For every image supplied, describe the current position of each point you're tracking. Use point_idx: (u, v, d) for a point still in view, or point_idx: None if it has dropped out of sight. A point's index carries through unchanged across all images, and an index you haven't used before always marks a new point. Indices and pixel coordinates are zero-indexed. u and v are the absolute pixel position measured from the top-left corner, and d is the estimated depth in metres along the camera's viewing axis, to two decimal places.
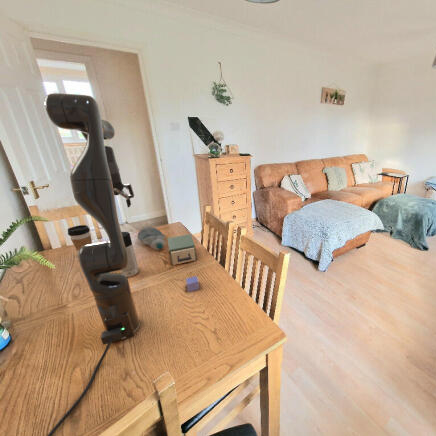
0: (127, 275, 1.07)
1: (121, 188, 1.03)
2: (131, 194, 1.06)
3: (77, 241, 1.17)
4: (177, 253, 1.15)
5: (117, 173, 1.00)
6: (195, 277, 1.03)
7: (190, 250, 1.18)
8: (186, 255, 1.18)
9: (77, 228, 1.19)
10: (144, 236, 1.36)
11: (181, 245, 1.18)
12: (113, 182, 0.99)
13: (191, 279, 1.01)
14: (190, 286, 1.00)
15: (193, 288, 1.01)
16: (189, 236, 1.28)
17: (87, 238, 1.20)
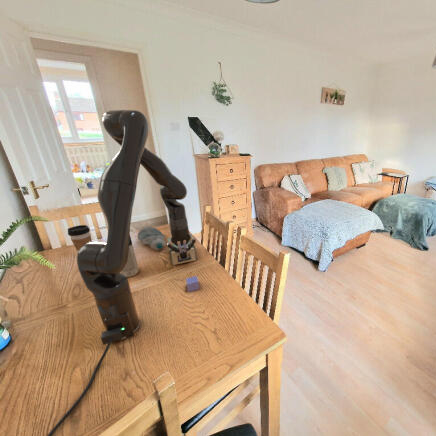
0: (127, 275, 1.07)
1: None
2: (189, 247, 1.13)
3: (77, 241, 1.17)
4: (177, 253, 1.15)
5: (187, 227, 1.08)
6: (195, 277, 1.03)
7: (190, 250, 1.18)
8: None
9: (77, 228, 1.19)
10: (144, 236, 1.36)
11: None
12: (184, 235, 1.08)
13: (191, 279, 1.01)
14: (190, 286, 1.00)
15: (193, 288, 1.01)
16: None
17: (87, 238, 1.20)
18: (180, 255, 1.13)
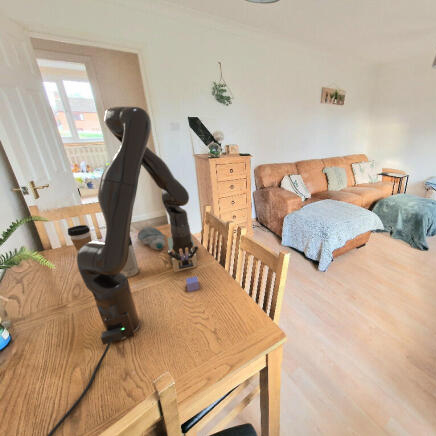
0: (127, 275, 1.07)
1: (190, 249, 1.07)
2: (192, 255, 1.08)
3: (77, 241, 1.17)
4: None
5: (189, 234, 1.04)
6: (195, 277, 1.03)
7: None
8: None
9: (77, 228, 1.19)
10: (144, 236, 1.36)
11: None
12: (186, 243, 1.03)
13: (191, 279, 1.01)
14: (190, 286, 1.00)
15: (193, 288, 1.01)
16: None
17: (87, 238, 1.20)
18: (182, 263, 1.08)
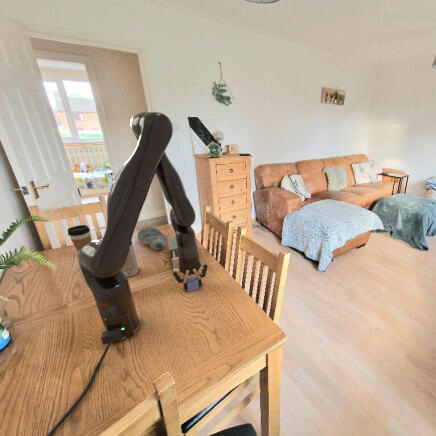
0: (127, 275, 1.07)
1: (198, 268, 1.00)
2: (204, 274, 1.02)
3: (77, 241, 1.17)
4: (178, 260, 1.10)
5: (197, 254, 0.96)
6: (195, 277, 1.03)
7: None
8: None
9: (77, 228, 1.19)
10: (144, 236, 1.36)
11: None
12: (194, 264, 0.96)
13: (191, 279, 1.01)
14: (190, 286, 1.00)
15: (193, 288, 1.01)
16: None
17: (87, 238, 1.20)
18: None
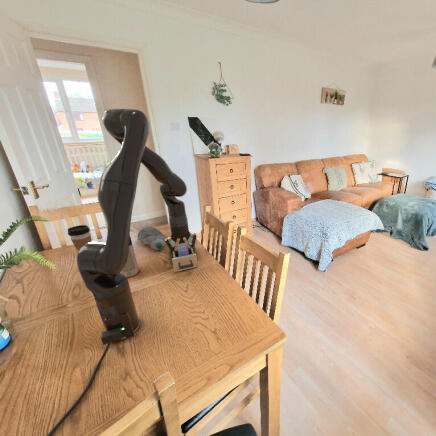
0: (127, 275, 1.07)
1: (188, 238, 1.12)
2: (193, 243, 1.14)
3: (77, 241, 1.17)
4: (178, 260, 1.10)
5: (187, 224, 1.09)
6: (185, 246, 1.15)
7: (192, 256, 1.12)
8: (188, 262, 1.12)
9: (77, 228, 1.19)
10: (144, 236, 1.35)
11: (181, 245, 1.18)
12: (184, 233, 1.08)
13: (182, 248, 1.13)
14: (181, 254, 1.12)
15: None
16: None
17: (87, 238, 1.20)
18: (175, 253, 1.12)
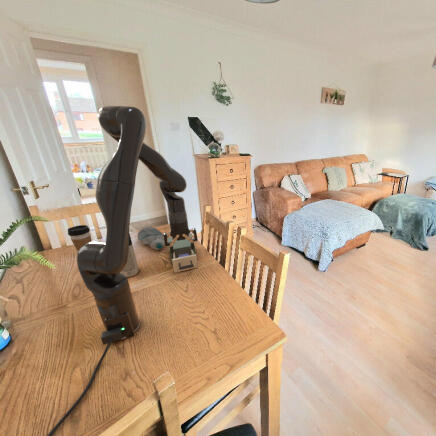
0: (127, 275, 1.07)
1: (188, 233, 1.11)
2: (195, 238, 1.13)
3: (77, 241, 1.17)
4: (178, 260, 1.09)
5: (186, 220, 1.08)
6: (187, 254, 1.16)
7: (192, 257, 1.12)
8: (188, 262, 1.12)
9: (77, 228, 1.19)
10: (144, 236, 1.35)
11: (181, 245, 1.18)
12: (183, 229, 1.07)
13: (183, 256, 1.15)
14: None
15: None
16: None
17: (87, 238, 1.20)
18: (170, 249, 1.10)
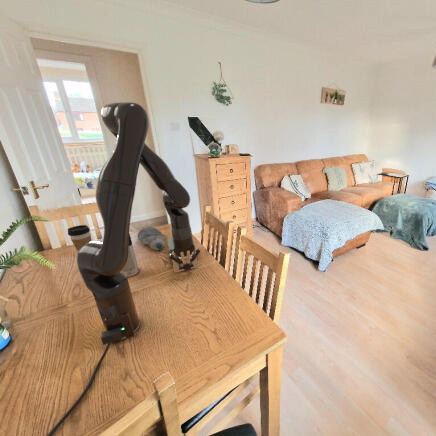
0: (127, 275, 1.07)
1: None
2: (193, 258, 1.05)
3: (77, 241, 1.17)
4: None
5: (191, 236, 1.00)
6: None
7: None
8: None
9: (77, 228, 1.19)
10: (144, 236, 1.35)
11: None
12: (187, 246, 0.99)
13: None
14: None
15: None
16: None
17: (87, 238, 1.20)
18: (183, 266, 1.05)
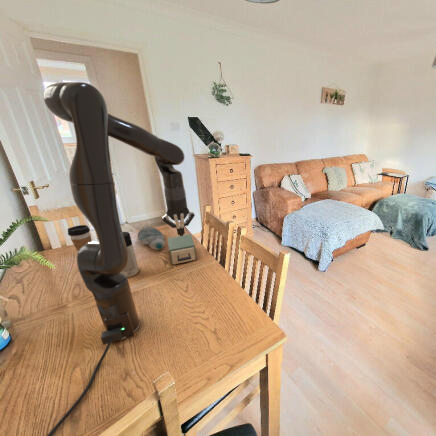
0: (127, 275, 1.07)
1: None
2: (188, 222, 1.01)
3: (77, 241, 1.17)
4: (177, 252, 1.15)
5: (185, 198, 0.96)
6: None
7: (190, 250, 1.18)
8: (186, 255, 1.18)
9: (77, 228, 1.19)
10: (144, 236, 1.35)
11: (181, 245, 1.18)
12: (181, 208, 0.95)
13: None
14: None
15: None
16: (189, 236, 1.28)
17: (87, 238, 1.20)
18: (177, 231, 1.00)
